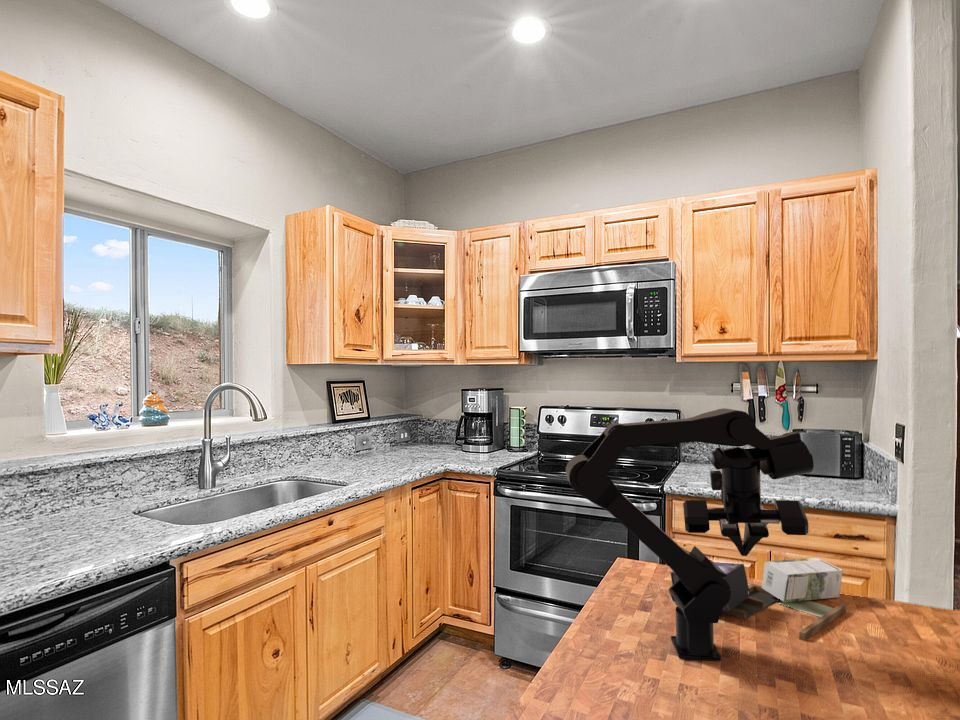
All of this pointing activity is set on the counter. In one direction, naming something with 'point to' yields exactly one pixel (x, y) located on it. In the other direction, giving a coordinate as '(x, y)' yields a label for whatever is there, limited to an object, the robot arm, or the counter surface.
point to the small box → (731, 583)
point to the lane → (763, 599)
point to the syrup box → (802, 579)
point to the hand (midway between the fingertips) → (743, 554)
